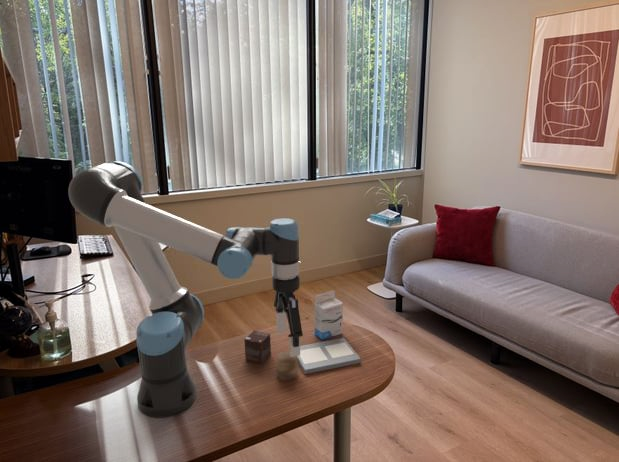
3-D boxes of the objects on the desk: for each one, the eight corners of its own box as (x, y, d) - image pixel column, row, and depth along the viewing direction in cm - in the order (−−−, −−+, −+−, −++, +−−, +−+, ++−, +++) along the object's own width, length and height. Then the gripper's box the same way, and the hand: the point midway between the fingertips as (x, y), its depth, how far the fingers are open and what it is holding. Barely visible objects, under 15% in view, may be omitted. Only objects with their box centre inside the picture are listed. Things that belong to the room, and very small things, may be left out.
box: (271, 354, 147) (270, 334, 144) (261, 364, 141) (261, 343, 139) (255, 350, 149) (254, 329, 147) (244, 359, 144) (243, 338, 142)
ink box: (322, 340, 154) (322, 300, 150) (314, 334, 158) (314, 295, 154) (342, 333, 159) (343, 294, 155) (334, 327, 163) (334, 289, 159)
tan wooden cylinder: (280, 382, 133) (279, 364, 131) (274, 371, 138) (274, 353, 136) (300, 378, 134) (300, 360, 133) (294, 367, 140) (293, 349, 138)
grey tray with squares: (305, 374, 136) (305, 369, 136) (292, 351, 148) (292, 347, 148) (360, 362, 142) (360, 358, 142) (343, 341, 154) (344, 337, 153)
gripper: (313, 290, 117) (315, 363, 123) (286, 258, 139) (288, 321, 145) (285, 295, 114) (287, 369, 121) (261, 261, 137) (265, 325, 143)
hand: (288, 343), depth 133 cm, fingers open, 13 cm apart
